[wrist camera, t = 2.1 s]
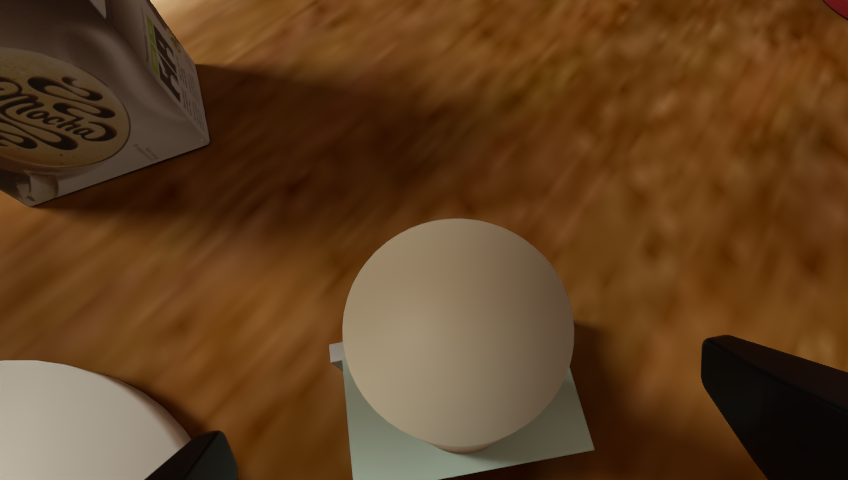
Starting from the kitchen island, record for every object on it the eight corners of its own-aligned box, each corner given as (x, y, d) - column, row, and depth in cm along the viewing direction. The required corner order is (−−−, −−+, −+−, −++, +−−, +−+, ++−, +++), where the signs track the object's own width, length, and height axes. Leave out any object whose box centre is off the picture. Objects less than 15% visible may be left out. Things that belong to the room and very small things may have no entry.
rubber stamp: (590, 448, 16) (842, 425, 5) (355, 493, 16) (139, 558, 5) (550, 317, 18) (676, 111, 7) (343, 356, 18) (168, 206, 7)
